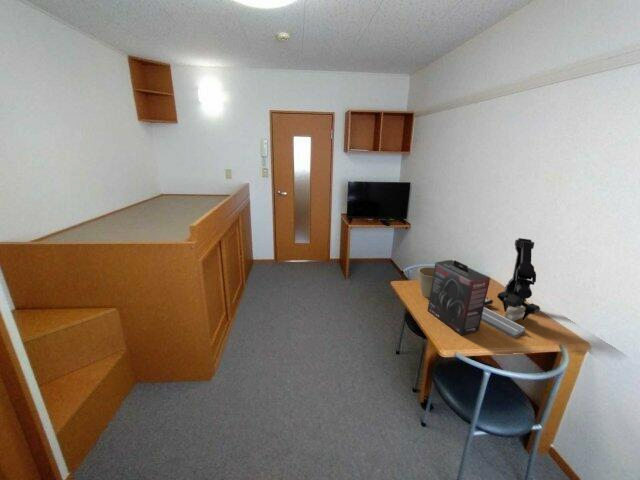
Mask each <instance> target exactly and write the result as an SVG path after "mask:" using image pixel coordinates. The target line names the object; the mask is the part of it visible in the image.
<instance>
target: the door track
mask: <svg viewBox="0 0 640 480" xmlns="http://www.w3.org/2000/svg"><path fill="white" fill-rule="evenodd" d="M481 322H483V323H485V324H486V325H488V326H490V327H492V328H494V329H495V330H498V331H499V332H501V333H502V334H505V335H506V336H508V337H509V338H512V339H515V338H517V337H519V336H521V335H523V334H525V333H526V329H525V326H523V325H520V324H518V323H517V322H515V321H511V320H509V319H507V318H505V316H503V315H501V314H499V313H497V312H495V311H493V310H490V309H488V308H487V307H486V306H484V309H483V313H482V318H481Z"/></svg>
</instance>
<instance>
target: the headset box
mask: <svg viewBox="0 0 640 480" xmlns="http://www.w3.org/2000/svg"><path fill="white" fill-rule="evenodd" d="M433 268H434V273H433V280H432V286H431V292H430V298H428V299H429V300H428V306H427V312H429V313H430V314H432V315H433V316H435V317H436V318H437V319H438V320H439V321H441V322H442V323H444V324H445V325H446V326H448V327H449V328H451V329H452V330H453V331H454V332H456V333H458V335H460V336H464V335H468V334H473V333H476V332H479V331H480V326H481V322H482V321H481V318H482V313H483V309H484V307H485V306H484V304H485V300H486V297H488V296H487V295H488V290H489V286H490V283H491V282H490V281H491V277H490V276H488V275H486V274H483V273H482V272H481V273H480V272H479V271H477V270H475V269H472V268H471V267H468V265H466V264H464V263H462V262H459V261H458V260H452V259H449V260H441V261H436V262H435V263H434V267H433Z"/></svg>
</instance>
